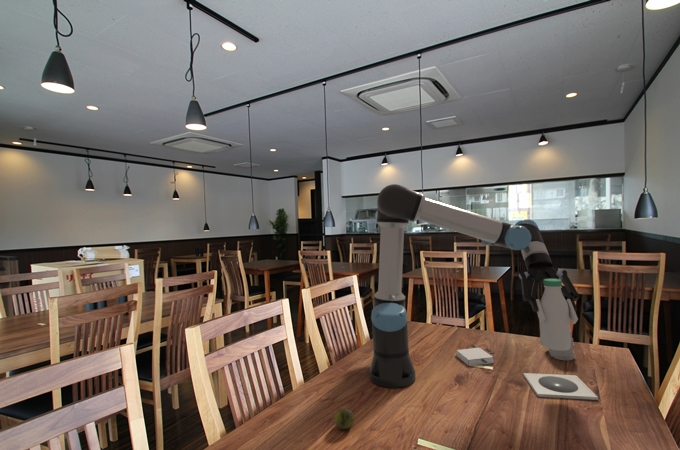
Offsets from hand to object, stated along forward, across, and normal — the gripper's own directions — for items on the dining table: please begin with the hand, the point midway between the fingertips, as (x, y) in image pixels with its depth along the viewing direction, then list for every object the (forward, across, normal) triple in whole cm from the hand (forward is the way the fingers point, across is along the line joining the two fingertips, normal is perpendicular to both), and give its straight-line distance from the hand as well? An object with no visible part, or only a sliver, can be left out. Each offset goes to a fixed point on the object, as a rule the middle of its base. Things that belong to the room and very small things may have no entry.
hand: (558, 321), depth 97 cm
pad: (+12, 0, -17) cm, 21 cm away
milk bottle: (+4, 0, -9) cm, 9 cm away
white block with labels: (-1, +20, -31) cm, 36 cm away
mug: (-5, -9, -35) cm, 36 cm away
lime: (+32, +59, +3) cm, 67 cm away
